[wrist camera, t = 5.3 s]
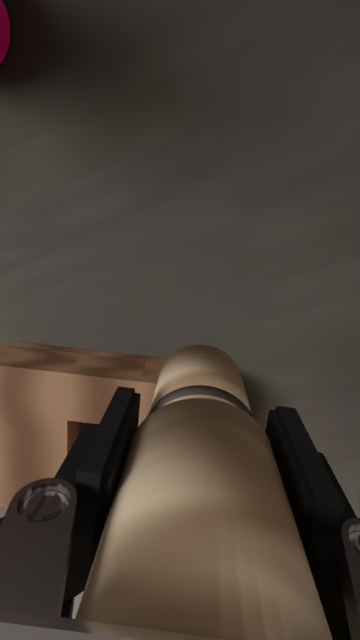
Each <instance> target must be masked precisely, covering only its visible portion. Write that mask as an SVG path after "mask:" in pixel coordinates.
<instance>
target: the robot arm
mask: <svg viewBox="0 0 360 640" xmlns="http://www.w3.org/2000/svg"><path fill="white" fill-rule="evenodd" d="M140 397H141V394H140V393H135V388H128V387H120V386H118V387H117V389H116V391H115V393H114V395H113V397H112V399H111V401H110V403H109V405H108V407H107V409H106V411H105V413H104V415H103V418H102V420H101V422H100V424H92V423H86V424H85V425H84V426H83V428H82V429H81V431H80V433H79V435H78V437H77V438H76V440H75V442H74V444H73V445H72V447H71V449H70V451H69V452H68V454H67V456H66V458H65V459H64V461H63V463H62V465H61V466H60V468H59V470H58V472H57V473H56V475H55V477H54V478H45V479H39V480H36V481H34V482H31V483H29V484H27V485H26V486H24V487H22V488H21V489H20V490H19V491H18V492H17V493H16V494H15V495H14V497H13V498H12V500H11V502H10V504H9V506H8V509H7V511H6V514H5V516H4V517H2V518H0V640H224V639H217V638H210V637H203V636H196V635H188V634H181V633H174V632H167V631H160V630H153V629H145V628H138V627H130V626H123V625H116V624H108V623H101V622H93V621H86V620H78V619H72V614H73V606H74V597H75V596H77V595H78V594H80V593H81V592H82V591H84V590H85V586H86V583H87V580H88V577H89V574H90V570H91V567H92V564H93V561H94V558H95V555H96V551H97V548H98V545H99V542H100V539H101V535H102V532H103V529H104V526H105V523H106V520H107V516H108V513H109V510H110V507H111V504H112V500H113V497H114V494H115V491H116V488H117V485H118V481H119V478H120V475H121V472H122V469H123V465H124V462H125V459H126V456H127V453H128V449H129V446H130V443H131V440H132V437H133V435H134V433H135V431H136V430H137V428H138V422H139V410H140ZM265 433H266V435H267V437H268V439H269V441H270V444H271V447H272V450H273V453H274V456H275V459H276V463H277V466H278V469H279V472H280V475H281V478H282V482H283V485H284V488H285V491H286V494H287V497H288V500H289V504H290V507H291V510H292V513H293V516H294V519H295V522H296V526H297V529H298V532H299V535H300V538H301V541H302V544H303V548H304V551H305V554H306V557H307V560H308V563H309V566H310V570H311V573H312V576H313V579H314V582H315V585H316V588H317V592H318V595H319V598H320V601H321V604H322V607H323V611H324V614H325V617H326V620H327V623H328V626H329V629H330V633H331V636H332V639H333V640H360V518H357V517H356V515H355V513H354V511H353V509H352V507H351V505H350V503H349V502H348V500H347V498H346V496H345V494H344V492H343V490H342V488H341V486H340V485H339V483H338V481H337V479H336V477H335V475H334V473H333V471H332V469H331V467H330V466H329V464H328V462H327V460H326V458H325V456H324V455H323V454H322V453H320V452H317V450H316V448H315V446H314V444H313V442H312V440H311V438H310V436H309V434H308V432H307V430H306V428H305V426H304V424H303V422H302V420H301V418H300V417H299V415H298V413H297V411H296V409H295V408H289V407H281V406H277V407H276V409H275V410H270V412H269V415H268V420H267V425H266V430H265Z"/></svg>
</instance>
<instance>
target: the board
mask: <svg viewBox="0 0 360 640" xmlns="http://www.w3.org/2000/svg"><path fill="white" fill-rule="evenodd" d="M166 360H167V359H164V358H155V357H146V356H137V355H128V354H119V353H111V352H102V351H93V350H84V349H75V348H66V347H58V346H49V345H40V344H31V343H22V342H14V341H10V342H9V343H7V344H5V345H4V346H2V347H1V348H0V508H7V509H8V506H9V504H10V502H11V500H12V498H13V497H14V495H15V494H16V493H17V492H18V491H19V490H20V489H21V488H22V487H24V486H26V485H27V484H29V483H31V482H34V481H36V480H39V479H45V478H54V477H55V475H56V473H57V472H58V470H59V468H60V466H61V465H62V463H63V461H64V459H65V458H66V456H67V454H68V452H69V451H70V449H71V447H72V445H73V444H74V442H75V440H76V438H77V437H78V435H79V433H80V431H81V429H82V428H83V426H84V425H85V424H86V423H92V424H100V422H101V420H102V418H103V415H104V413H105V411H106V409H107V407H108V405H109V403H110V401H111V399H112V397H113V395H114V393H115V391H116V389H117V387H118V386H120V387H128V388H135V393H140V394H141V397H140V410H139V422H138V427H139V425H140V424H141V423H142V422H143V421H144V420H145V418H146V417H147V416H148V414H149V411H150V408H151V404H152V400H153V396H154V393H155V389H156V385H157V381H158V378H159V374H160V371H161V368H162V366H163V364H164V363H165V361H166Z"/></svg>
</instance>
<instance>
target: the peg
mask: <svg viewBox="0 0 360 640" xmlns="http://www.w3.org/2000/svg"><path fill="white" fill-rule="evenodd" d="M75 619H78V620H86V621H93V622H101V623H108V624H116V625H123V626H130V627H138V628H145V629H153V630H160V631H167V632H174V633H181V634H188V635H196V636H203V637H210V638H217V639H224V640H333V639H332V636H331V633H330V629H329V626H328V623H327V620H326V617H325V614H324V611H323V607H322V604H321V601H320V598H319V595H318V592H317V588H316V585H315V582H314V579H313V576H312V573H311V570H310V566H309V563H308V560H307V557H306V554H305V551H304V548H303V544H302V541H301V538H300V535H299V532H298V529H297V526H296V522H295V519H294V516H293V513H292V510H291V507H290V504H289V500H288V497H287V494H286V491H285V488H284V485H283V482H282V478H281V475H280V472H279V469H278V466H277V463H276V459H275V456H274V453H273V450H272V447H271V444H270V441H269V439H268V437H267V435H266V433H265V431H264V430H263V429H262V427H261V426H260V425H259V424H258V423H257V421H256V420H255V419H254V417H253V416H252V414H251V410H250V406H249V402H248V399H247V395H246V391H245V388H244V384H243V380H242V376H241V373H240V370H239V368H238V366H237V364H236V363H235V361H234V360H233V359H232V358H231V357H230V356H229V355H228V354H226V353H225V352H223V351H222V350H220V349H218V348H215V347H212V346H207V345H192V346H188V347H185V348H182V349H180V350H178V351H176V352H175V353H173V354H172V355H171V356H170V357H169V358H168V359H167V360H166V361H165V363H164V364H163V366H162V368H161V371H160V374H159V378H158V381H157V385H156V389H155V393H154V396H153V400H152V404H151V408H150V411H149V414H148V416H147V417H146V418H145V420H144V421H143V422H142V423H141V424H140V425H139V427H138V428H137V430H136V431H135V433H134V435H133V437H132V440H131V443H130V446H129V449H128V453H127V456H126V459H125V462H124V465H123V469H122V472H121V475H120V478H119V481H118V485H117V488H116V491H115V494H114V497H113V500H112V504H111V507H110V510H109V513H108V516H107V520H106V523H105V526H104V529H103V532H102V535H101V539H100V542H99V545H98V548H97V551H96V555H95V558H94V561H93V564H92V567H91V570H90V574H89V577H88V580H87V583H86V586H85V590H84V593H83V596H82V599H81V602H80V606H79V609H78V612H77V615H76V618H75Z"/></svg>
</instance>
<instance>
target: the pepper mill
mask: <svg viewBox="0 0 360 640" xmlns="http://www.w3.org/2000/svg"><path fill="white" fill-rule="evenodd" d="M10 35H11V32H10V21H9V17H8V13H7V10H6V7H5V5H4V3H3V1H2V0H0V63H1V62H2V61H3V59H4V58H5V56H6V53H7V50H8V48H9V43H10Z"/></svg>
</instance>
